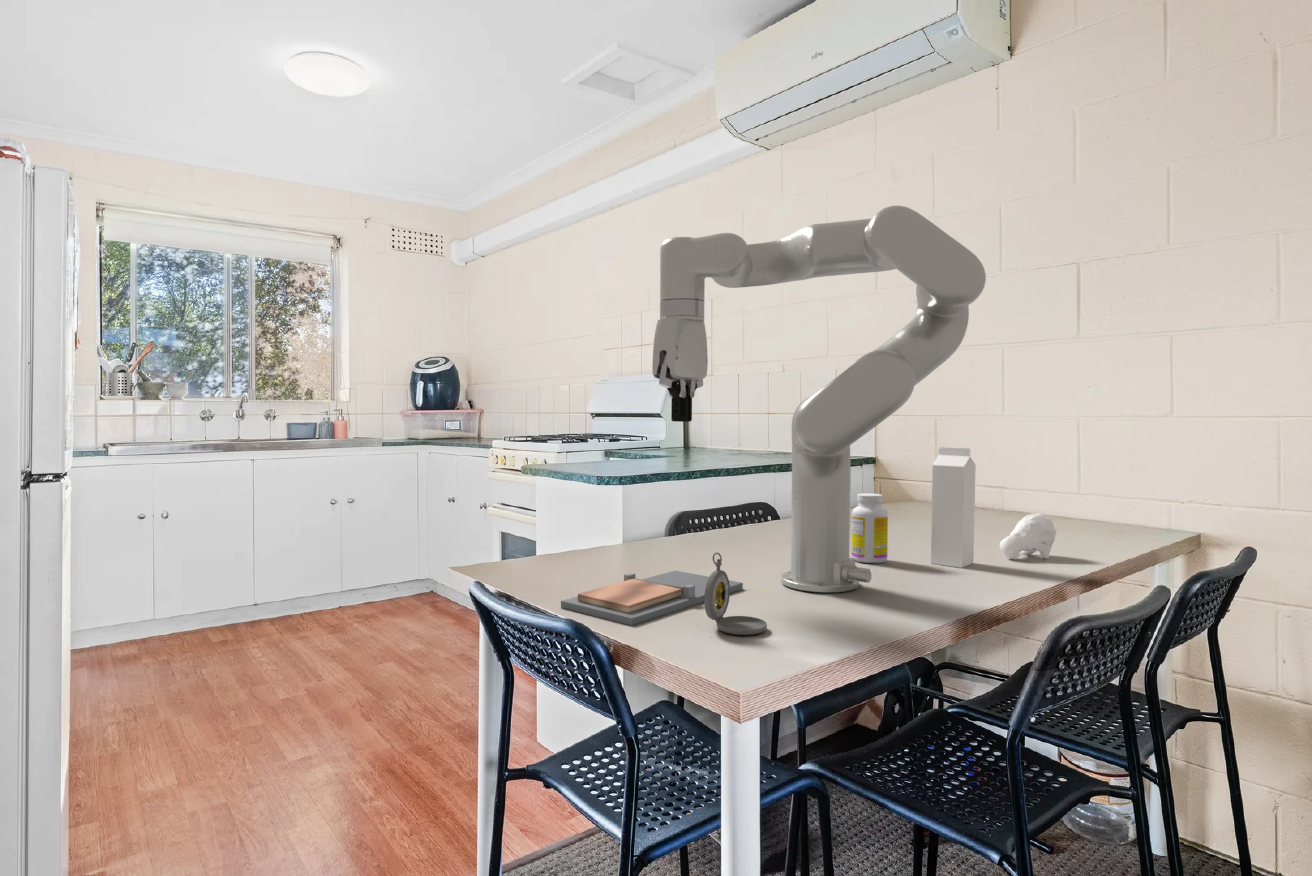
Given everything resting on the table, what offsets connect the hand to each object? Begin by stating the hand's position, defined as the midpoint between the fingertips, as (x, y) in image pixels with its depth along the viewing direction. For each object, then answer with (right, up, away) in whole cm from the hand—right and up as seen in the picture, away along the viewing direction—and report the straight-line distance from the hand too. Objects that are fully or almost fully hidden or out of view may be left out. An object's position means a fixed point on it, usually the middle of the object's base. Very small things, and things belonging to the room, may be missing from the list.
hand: (681, 421), depth 128 cm
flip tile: (-8, -26, -16) cm, 31 cm away
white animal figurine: (+68, -27, +21) cm, 76 cm away
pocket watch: (+6, -29, -27) cm, 40 cm away
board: (-4, -28, -12) cm, 30 cm away
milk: (+52, -27, +15) cm, 60 cm away
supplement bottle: (+37, -27, +17) cm, 49 cm away
